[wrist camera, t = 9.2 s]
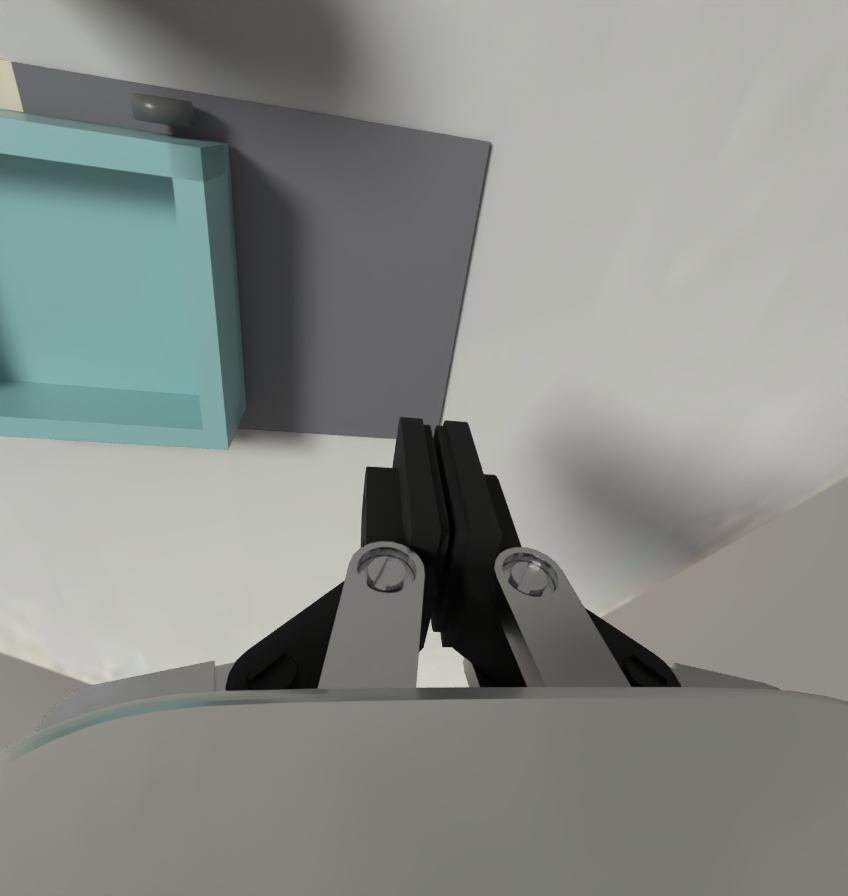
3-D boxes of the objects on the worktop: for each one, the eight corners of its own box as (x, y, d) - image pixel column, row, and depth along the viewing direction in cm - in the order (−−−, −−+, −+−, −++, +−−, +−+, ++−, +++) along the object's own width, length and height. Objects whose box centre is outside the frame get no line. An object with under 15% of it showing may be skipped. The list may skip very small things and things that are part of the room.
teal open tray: (226, 107, 19) (196, 103, 15) (247, 427, 26) (230, 470, 23) (-172, 41, 17) (-306, 21, 13) (-23, 409, 24) (-85, 454, 21)
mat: (489, 141, 21) (490, 142, 20) (435, 439, 29) (435, 441, 29) (-113, 41, 17) (-118, 40, 17) (18, 411, 25) (16, 413, 25)
